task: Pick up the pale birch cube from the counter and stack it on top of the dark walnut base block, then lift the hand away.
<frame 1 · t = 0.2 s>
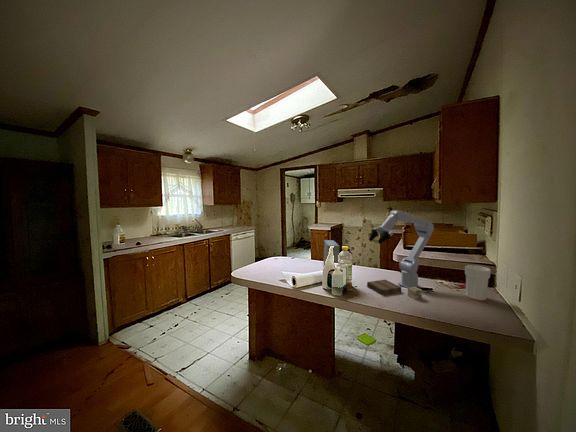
hand: (374, 241, 139), 31 cm above the worktop, tool tilted 45°, fingers open, 7 cm apart
walnut base: (383, 289, 145), on the worktop
cup: (475, 297, 132), on the worktop
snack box: (330, 277, 167), on the worktop
birch cube: (414, 297, 133), on the worktop
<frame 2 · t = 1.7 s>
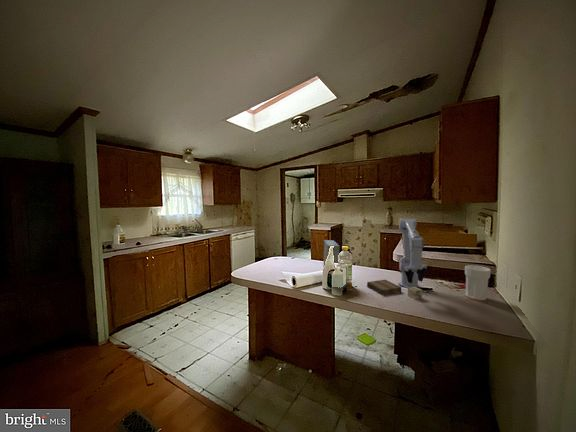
hand: (415, 281, 133), 9 cm above the worktop, tool pointing down, fingers open, 7 cm apart
nothing on the worktop moved.
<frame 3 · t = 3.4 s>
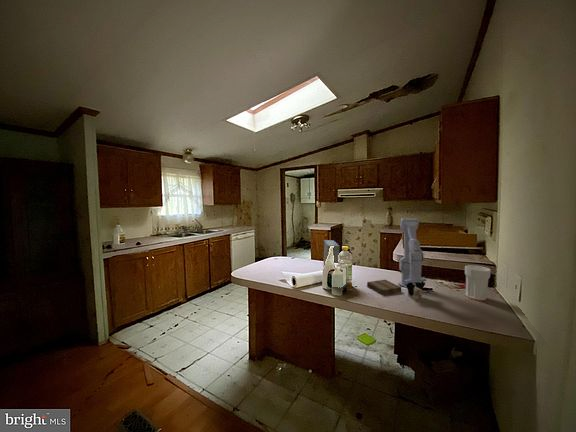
hand: (414, 294, 133), 1 cm above the worktop, tool pointing down, fingers closed on birch cube, 5 cm apart
birch cube: (414, 296, 133), on the worktop, touching gripper
everything else where it was.
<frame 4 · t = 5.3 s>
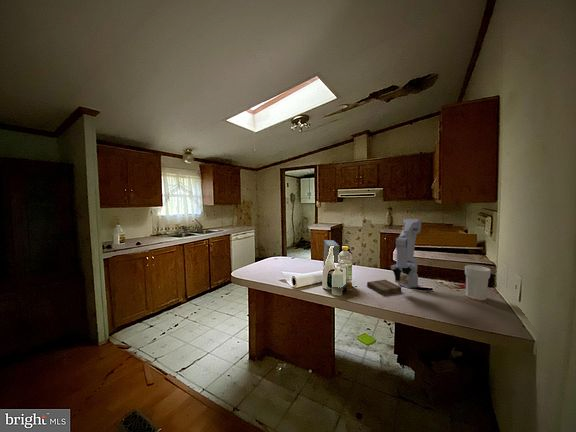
hand: (401, 279, 137), 8 cm above the worktop, tool pointing down, fingers closed on birch cube, 5 cm apart
birch cube: (401, 282, 137), point 7 cm above the worktop, touching gripper
everything else where it was.
when the fingers open (5 cm above the worktop, at t = 7.4 s): birch cube stays where it is, resting on walnut base.
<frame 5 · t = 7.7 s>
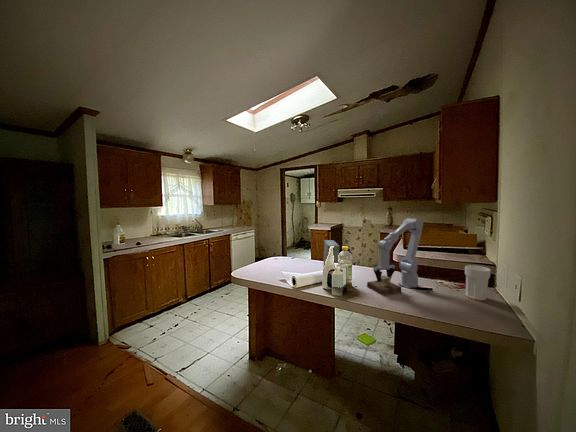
hand: (383, 280, 144), 5 cm above the worktop, tool pointing down, fingers open, 7 cm apart
birch cube: (383, 284, 144), point 3 cm above the worktop, touching walnut base
everything else where it was.
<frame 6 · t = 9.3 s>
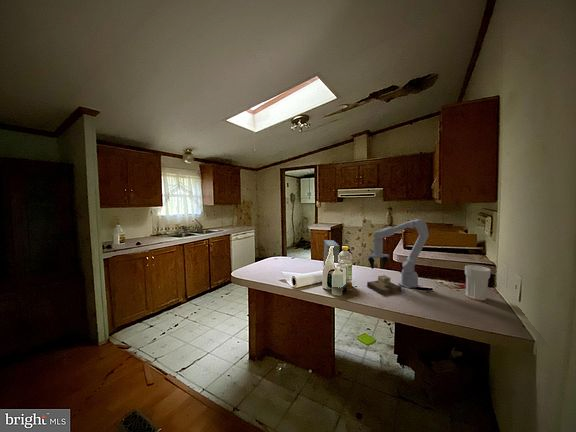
hand: (377, 268, 157), 9 cm above the worktop, tool pointing down, fingers open, 7 cm apart
nothing on the worktop moved.
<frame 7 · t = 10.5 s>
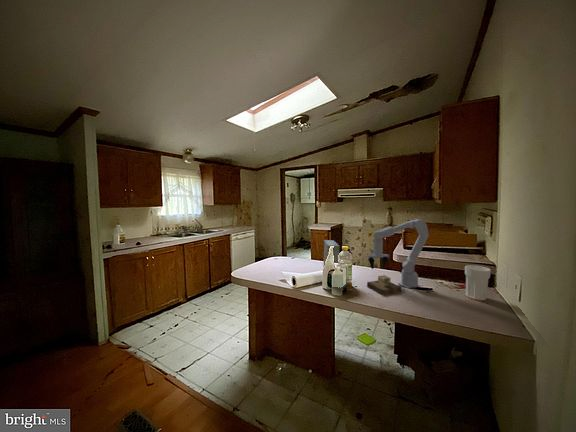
hand: (377, 268, 157), 9 cm above the worktop, tool pointing down, fingers open, 7 cm apart
nothing on the worktop moved.
at the end: birch cube inside the target area on the walnut base (0.2 cm from its centre), point 3.0 cm above the walnut base's base; birch cube touching walnut base; birch cube tilted 0° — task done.
